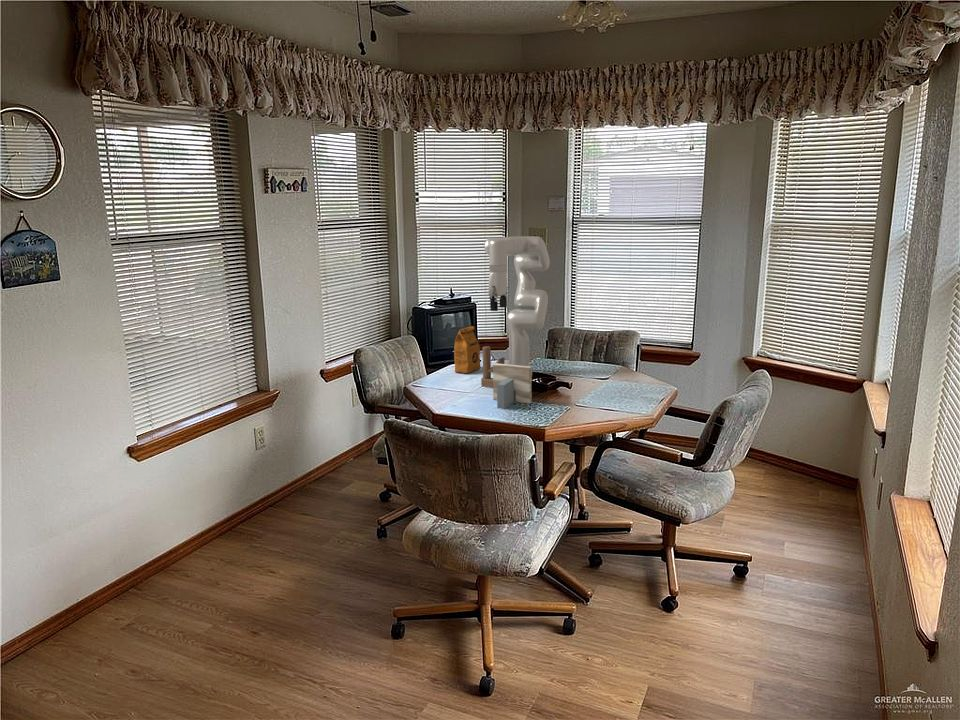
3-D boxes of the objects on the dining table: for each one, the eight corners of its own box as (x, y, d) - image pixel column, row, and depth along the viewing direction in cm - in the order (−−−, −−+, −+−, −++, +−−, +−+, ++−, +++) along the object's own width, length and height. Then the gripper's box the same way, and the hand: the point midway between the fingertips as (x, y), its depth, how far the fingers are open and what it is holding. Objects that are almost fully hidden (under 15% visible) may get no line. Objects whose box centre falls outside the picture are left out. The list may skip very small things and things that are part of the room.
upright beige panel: (496, 397, 287) (495, 363, 283) (531, 401, 280) (531, 366, 276) (493, 399, 284) (492, 364, 280) (528, 403, 277) (528, 368, 274)
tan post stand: (500, 389, 298) (499, 350, 294) (481, 386, 304) (480, 347, 300) (505, 387, 301) (504, 348, 297) (486, 384, 307) (485, 345, 303)
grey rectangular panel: (519, 392, 293) (519, 370, 291) (526, 393, 292) (526, 371, 289) (497, 408, 272) (497, 384, 270) (504, 409, 271) (503, 385, 268)
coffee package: (483, 370, 332) (482, 326, 327) (467, 375, 323) (466, 330, 318) (468, 367, 338) (467, 324, 333) (451, 372, 329) (450, 328, 324)
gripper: (498, 266, 294) (498, 305, 298) (481, 270, 278) (482, 311, 283) (514, 267, 291) (514, 306, 295) (498, 271, 275) (498, 312, 279)
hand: (498, 309), depth 289 cm, fingers open, 9 cm apart
